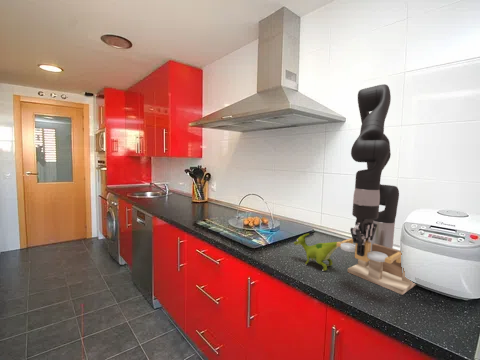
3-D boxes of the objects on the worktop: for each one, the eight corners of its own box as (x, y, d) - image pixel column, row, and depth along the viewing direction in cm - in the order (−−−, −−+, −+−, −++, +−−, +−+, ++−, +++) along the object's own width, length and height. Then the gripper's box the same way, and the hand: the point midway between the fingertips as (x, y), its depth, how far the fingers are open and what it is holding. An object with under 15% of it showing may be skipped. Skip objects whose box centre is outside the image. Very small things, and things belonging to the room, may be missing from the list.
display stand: (363, 264, 102) (365, 240, 101) (416, 284, 87) (419, 255, 86) (347, 272, 95) (349, 245, 94) (402, 294, 80) (405, 263, 79)
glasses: (349, 246, 92) (350, 230, 91) (401, 262, 78) (403, 244, 78) (333, 252, 86) (334, 235, 85) (387, 271, 72) (388, 252, 71)
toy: (310, 269, 106) (296, 236, 110) (358, 258, 94) (340, 221, 97) (302, 276, 100) (287, 240, 104) (352, 264, 87) (333, 225, 91)
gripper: (364, 199, 86) (361, 246, 87) (343, 202, 77) (340, 255, 79) (387, 202, 80) (383, 253, 81) (367, 206, 71) (363, 263, 73)
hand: (362, 254), depth 80 cm, fingers closed on glasses
